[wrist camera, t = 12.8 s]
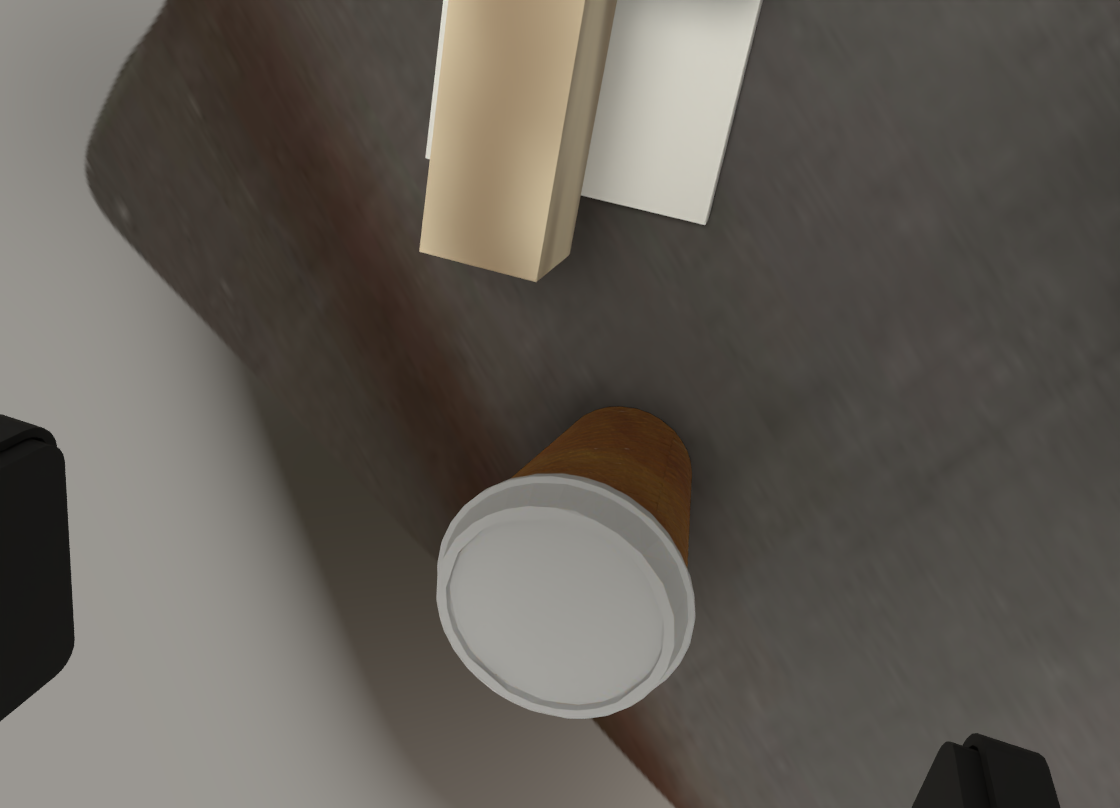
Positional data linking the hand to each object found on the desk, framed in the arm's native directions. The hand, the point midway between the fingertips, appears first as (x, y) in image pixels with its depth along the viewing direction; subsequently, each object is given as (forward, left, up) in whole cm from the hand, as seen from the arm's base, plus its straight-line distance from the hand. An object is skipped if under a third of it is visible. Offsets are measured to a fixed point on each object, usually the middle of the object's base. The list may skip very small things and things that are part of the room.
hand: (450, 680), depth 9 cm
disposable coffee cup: (+2, +13, -31) cm, 33 cm away
